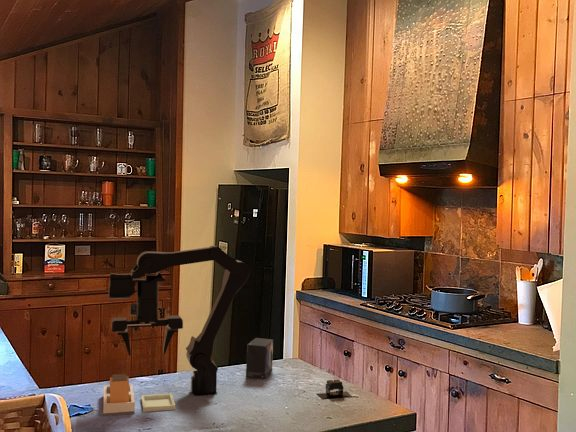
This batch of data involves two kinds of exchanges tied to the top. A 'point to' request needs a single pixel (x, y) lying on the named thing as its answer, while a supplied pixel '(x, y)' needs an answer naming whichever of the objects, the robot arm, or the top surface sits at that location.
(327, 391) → the dark boxy piece
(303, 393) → the top surface
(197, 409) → the top surface
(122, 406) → the cream slotted rack
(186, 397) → the top surface
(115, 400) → the plug
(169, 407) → the tray
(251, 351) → the small box
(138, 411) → the top surface
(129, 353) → the robot arm
